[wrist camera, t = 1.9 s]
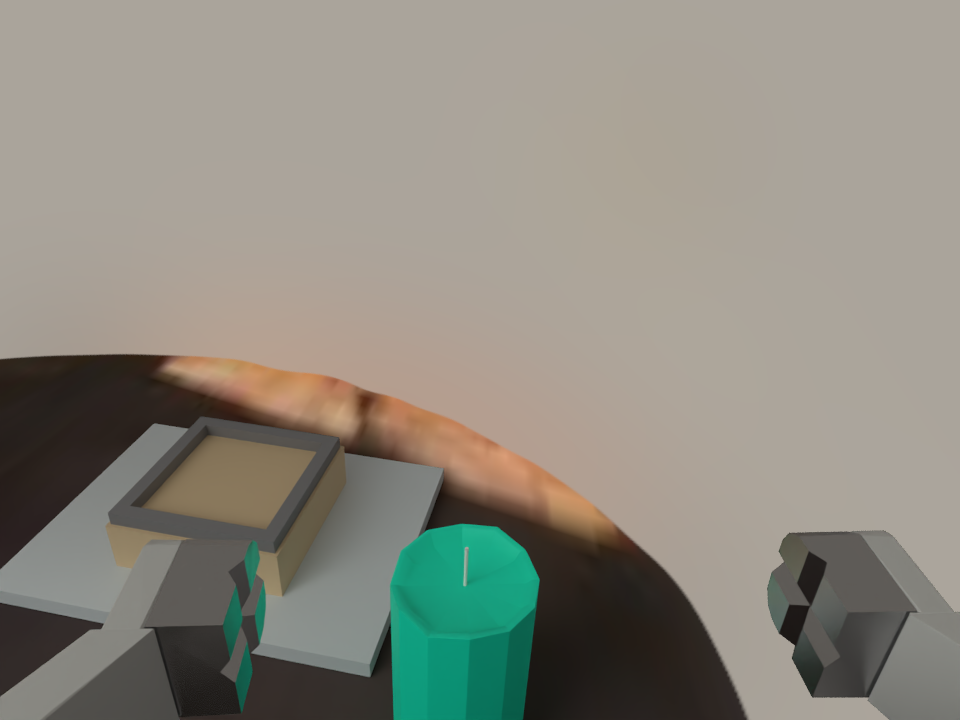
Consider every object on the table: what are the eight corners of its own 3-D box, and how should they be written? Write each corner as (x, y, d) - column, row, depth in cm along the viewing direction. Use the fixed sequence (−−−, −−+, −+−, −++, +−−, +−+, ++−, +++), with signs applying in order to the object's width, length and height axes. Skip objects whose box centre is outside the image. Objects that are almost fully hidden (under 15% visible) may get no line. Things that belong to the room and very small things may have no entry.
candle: (433, 660, 37) (436, 480, 31) (540, 709, 34) (566, 526, 28) (369, 761, 32) (357, 572, 26) (488, 826, 30) (505, 635, 24)
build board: (-13, 599, 39) (-41, 534, 36) (156, 434, 52) (144, 379, 50) (370, 677, 35) (366, 611, 33) (443, 479, 49) (444, 423, 47)
